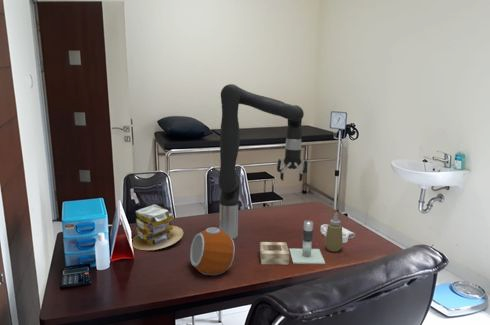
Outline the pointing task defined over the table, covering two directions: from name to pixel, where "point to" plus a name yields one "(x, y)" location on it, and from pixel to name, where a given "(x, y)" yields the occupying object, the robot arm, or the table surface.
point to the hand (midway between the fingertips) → (291, 180)
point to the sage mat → (299, 259)
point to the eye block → (274, 253)
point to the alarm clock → (212, 251)
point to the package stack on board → (155, 229)
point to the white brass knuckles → (344, 233)
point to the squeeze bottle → (334, 235)
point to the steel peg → (307, 238)
